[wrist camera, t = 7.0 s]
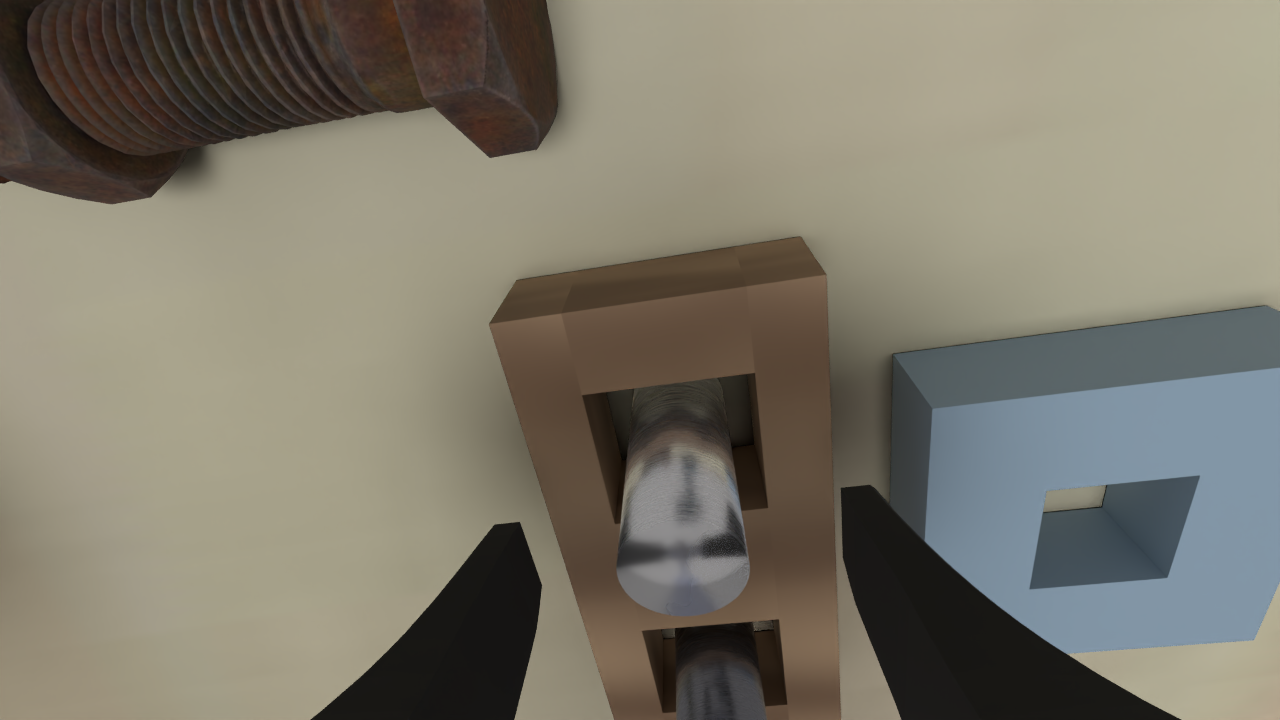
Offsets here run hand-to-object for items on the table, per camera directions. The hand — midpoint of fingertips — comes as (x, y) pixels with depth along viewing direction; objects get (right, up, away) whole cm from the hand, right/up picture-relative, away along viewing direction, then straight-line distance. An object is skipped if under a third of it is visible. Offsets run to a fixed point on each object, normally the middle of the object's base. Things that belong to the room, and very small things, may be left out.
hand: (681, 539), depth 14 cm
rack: (+1, -1, +7) cm, 8 cm away
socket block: (+12, 0, +6) cm, 14 cm away
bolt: (-11, +12, +2) cm, 16 cm away
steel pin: (0, +3, +5) cm, 6 cm away
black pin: (+2, -5, +9) cm, 11 cm away
